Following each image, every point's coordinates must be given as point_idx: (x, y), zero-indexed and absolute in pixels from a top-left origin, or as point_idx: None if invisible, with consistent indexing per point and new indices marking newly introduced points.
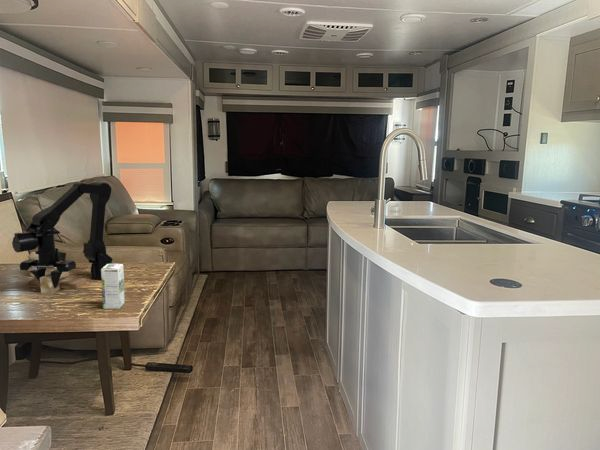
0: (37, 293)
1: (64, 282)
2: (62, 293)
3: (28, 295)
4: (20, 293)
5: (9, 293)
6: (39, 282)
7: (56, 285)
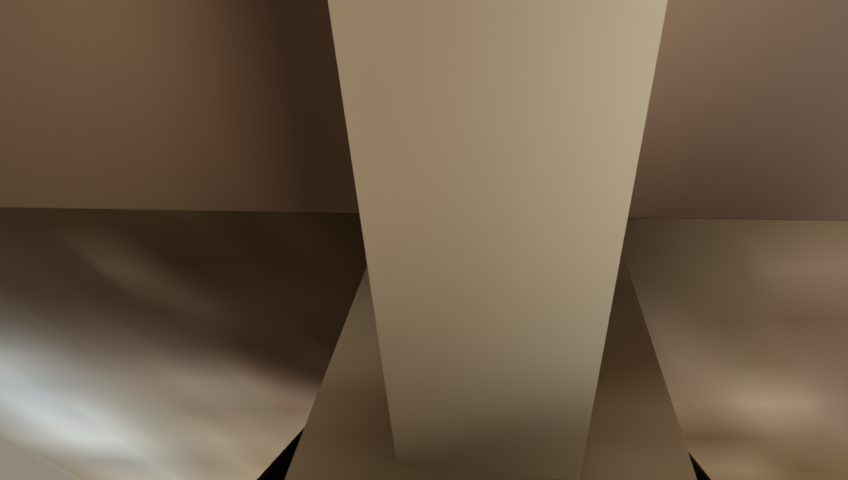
0: None
1: (743, 149)
2: (781, 408)
3: None
4: (133, 416)
5: (13, 417)
6: (9, 200)
7: None
